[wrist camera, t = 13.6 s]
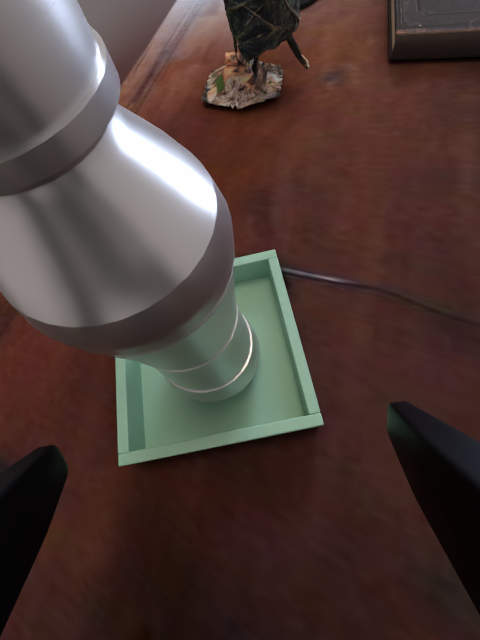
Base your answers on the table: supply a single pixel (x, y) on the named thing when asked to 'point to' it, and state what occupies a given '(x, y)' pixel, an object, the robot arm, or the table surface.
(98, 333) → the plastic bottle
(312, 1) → the wine glass
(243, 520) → the table surface
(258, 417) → the bin
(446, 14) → the hardcover book
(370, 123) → the table surface
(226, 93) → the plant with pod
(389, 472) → the table surface
